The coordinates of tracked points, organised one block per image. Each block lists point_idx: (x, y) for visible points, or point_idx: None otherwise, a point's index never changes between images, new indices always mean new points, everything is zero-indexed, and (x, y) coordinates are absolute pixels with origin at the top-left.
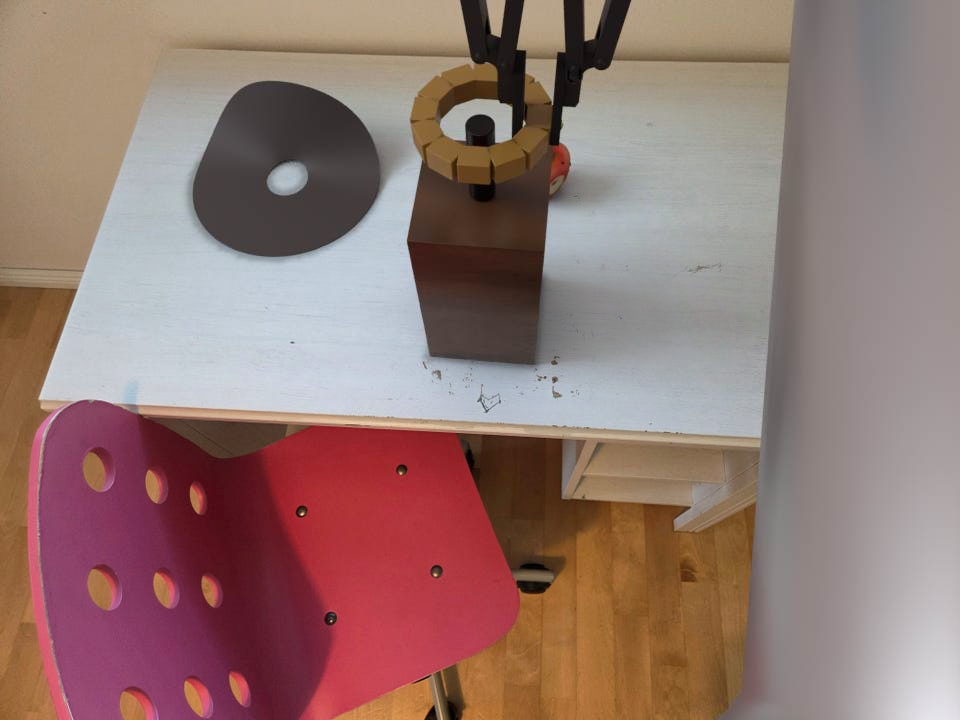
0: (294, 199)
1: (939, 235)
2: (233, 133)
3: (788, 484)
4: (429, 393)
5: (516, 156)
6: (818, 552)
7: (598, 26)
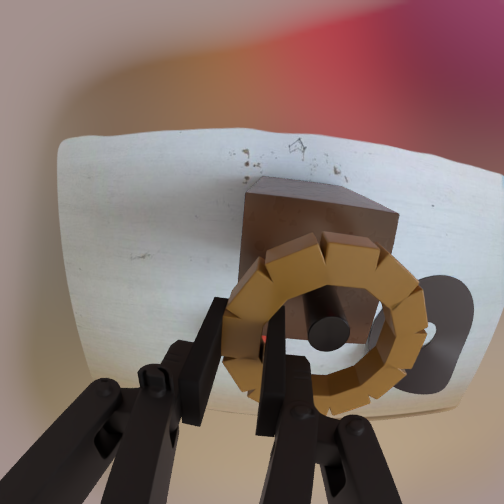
0: None
1: None
2: (448, 360)
3: None
4: (342, 155)
5: (280, 262)
6: None
7: (115, 450)
